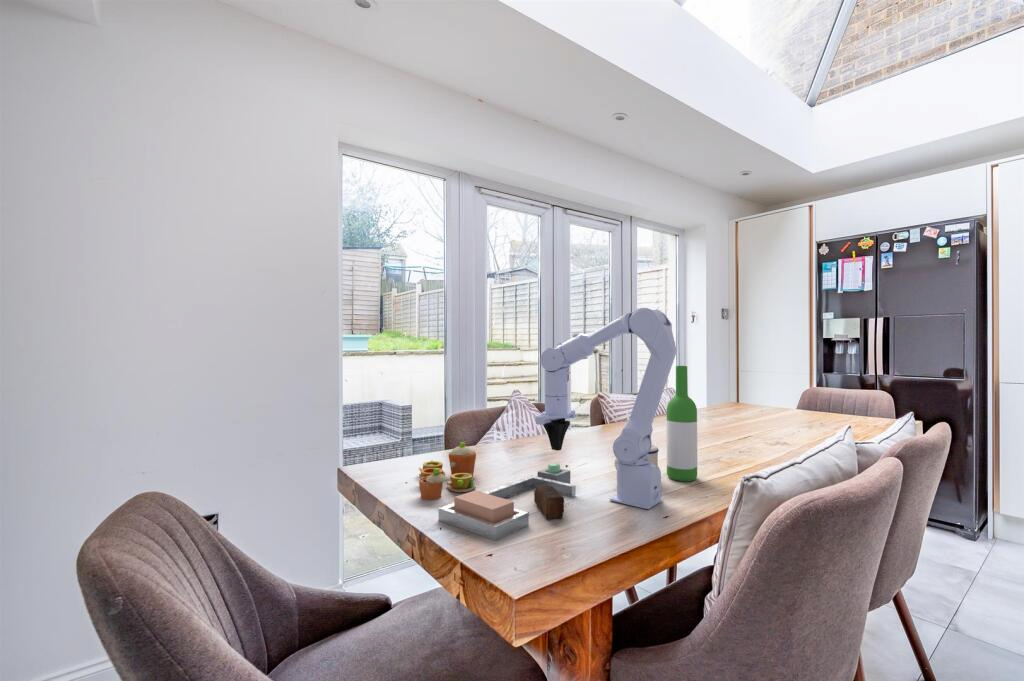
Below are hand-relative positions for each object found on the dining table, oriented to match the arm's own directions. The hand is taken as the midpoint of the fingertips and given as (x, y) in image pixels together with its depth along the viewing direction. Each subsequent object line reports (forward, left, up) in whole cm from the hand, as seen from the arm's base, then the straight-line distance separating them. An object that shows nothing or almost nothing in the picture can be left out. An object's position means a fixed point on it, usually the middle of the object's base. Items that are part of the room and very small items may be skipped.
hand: (556, 449), depth 121 cm
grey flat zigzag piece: (-2, +19, -9) cm, 21 cm away
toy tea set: (+23, +16, -10) cm, 30 cm away
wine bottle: (-21, -28, -10) cm, 36 cm away
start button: (+2, -1, -8) cm, 9 cm away
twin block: (-2, +29, -10) cm, 31 cm away
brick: (-8, +15, -10) cm, 20 cm away
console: (+2, -1, -9) cm, 10 cm away
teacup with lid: (-13, -17, -10) cm, 23 cm away
